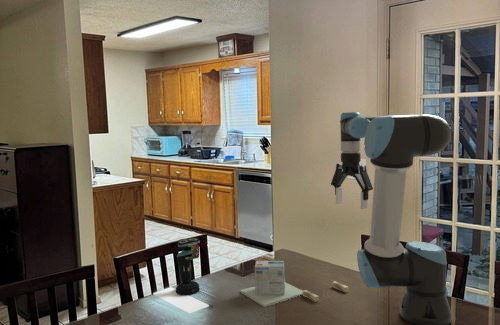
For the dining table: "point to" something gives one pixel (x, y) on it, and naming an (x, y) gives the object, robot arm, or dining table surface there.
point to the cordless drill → (187, 266)
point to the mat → (272, 299)
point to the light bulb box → (269, 278)
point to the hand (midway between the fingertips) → (351, 205)
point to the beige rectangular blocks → (334, 285)
